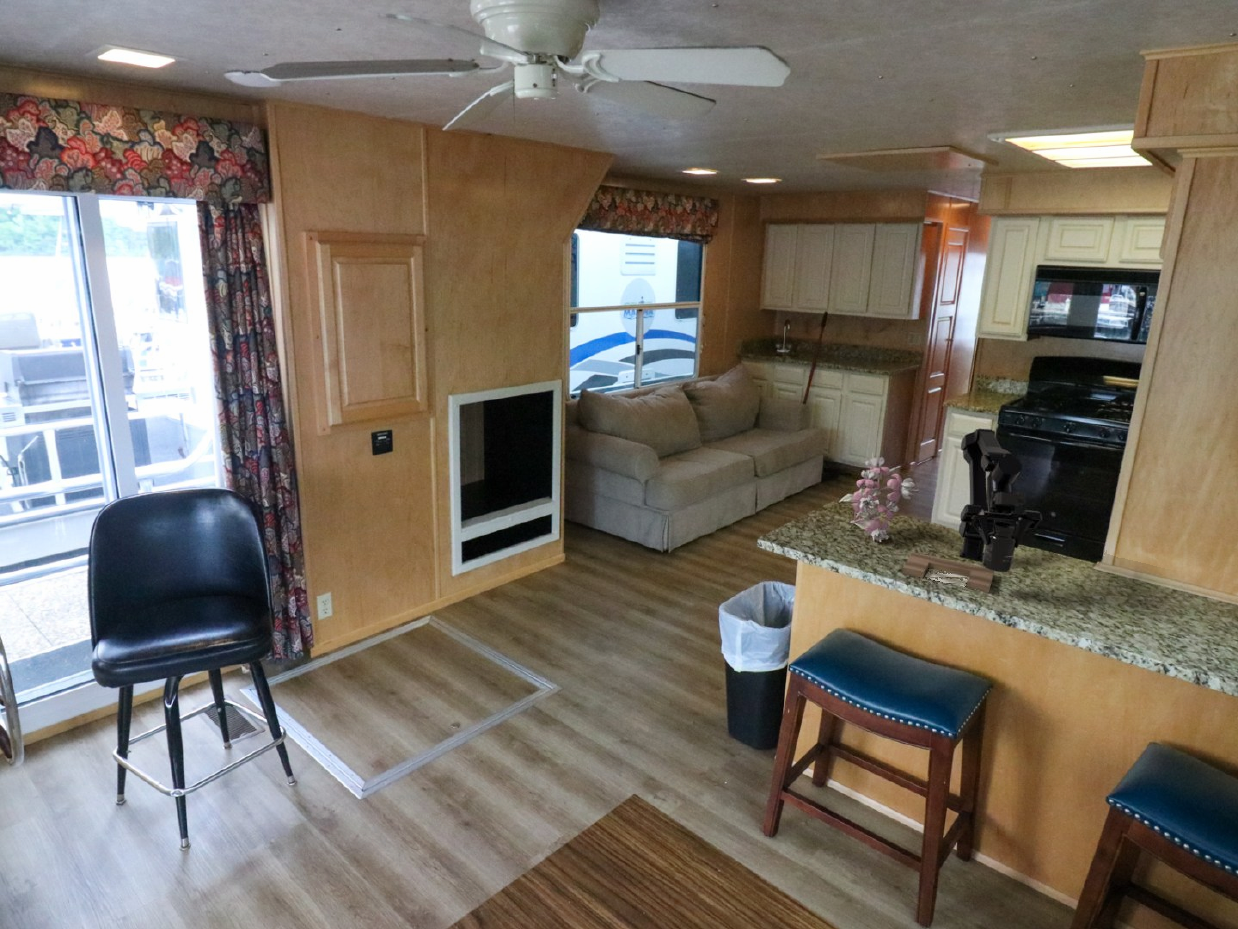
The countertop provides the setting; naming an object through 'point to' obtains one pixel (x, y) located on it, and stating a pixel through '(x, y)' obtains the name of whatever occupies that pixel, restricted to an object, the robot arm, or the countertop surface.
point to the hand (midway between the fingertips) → (1001, 545)
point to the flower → (868, 499)
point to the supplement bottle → (1000, 548)
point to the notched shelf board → (977, 575)
